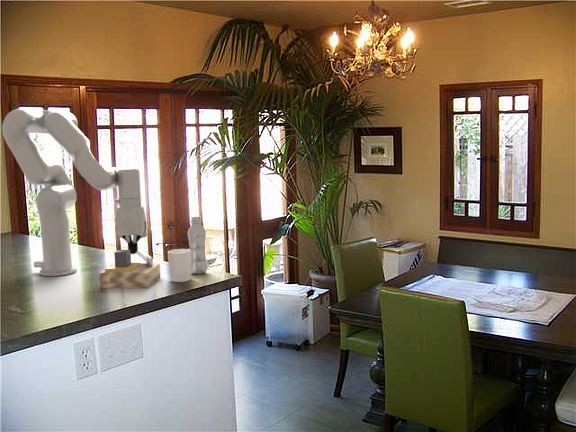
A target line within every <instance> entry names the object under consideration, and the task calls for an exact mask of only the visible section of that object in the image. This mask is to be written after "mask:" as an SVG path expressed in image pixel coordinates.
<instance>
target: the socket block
mask: <svg viewBox="0 0 576 432" xmlns="http://www.w3.org/2000/svg"><path fill="white" fill-rule="evenodd" d="M140 263H141V262H140ZM98 277H99V288H100V289H109V288H110V289H149V287H151V286H152V285H154V283H155V282H157V281H158V280H159V279H160V278H161V265H160V263H157V262H156V263H155V262H153V266H147V262H143V263H141V266H140V267H138V268H137V269H135V270H134V271H132V272H105V269H103V270H101V271H99V272H98Z"/></svg>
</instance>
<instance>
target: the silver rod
mask: <svg viewBox="0 0 576 432" xmlns="http://www.w3.org/2000/svg"><path fill="white" fill-rule="evenodd" d="M135 254H136V255H137V256H139V257H140V258H141V259H142V260H143V261H145V263H147V266H153V263H154V260H153V257H152V256H151V255H149V254H148V253H146V251H144V250H143V249H141V248H140V247H138V251H137V253H135Z"/></svg>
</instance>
